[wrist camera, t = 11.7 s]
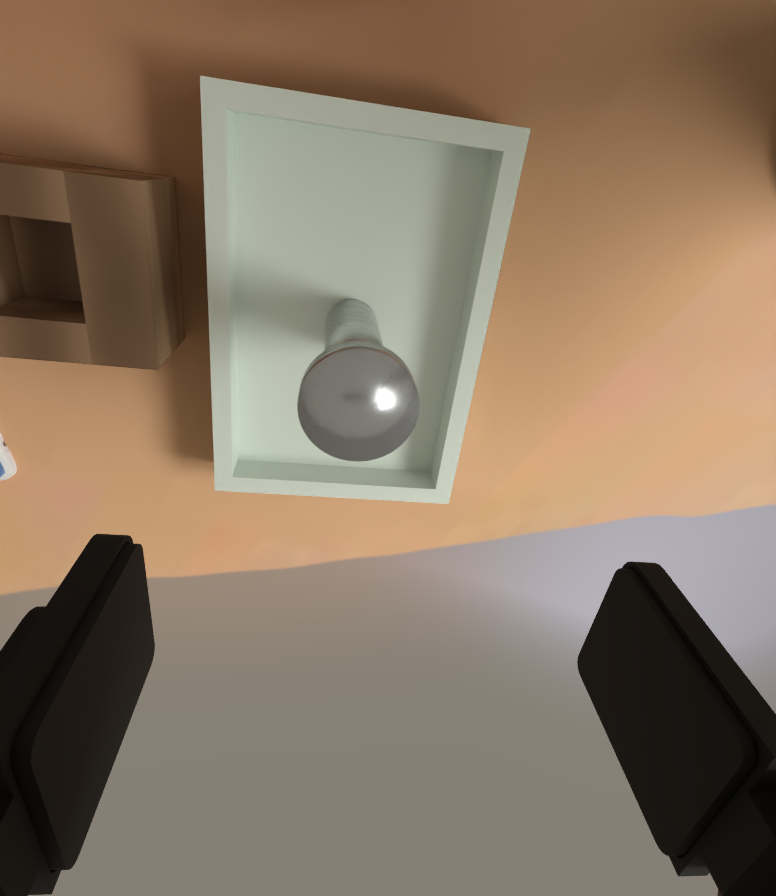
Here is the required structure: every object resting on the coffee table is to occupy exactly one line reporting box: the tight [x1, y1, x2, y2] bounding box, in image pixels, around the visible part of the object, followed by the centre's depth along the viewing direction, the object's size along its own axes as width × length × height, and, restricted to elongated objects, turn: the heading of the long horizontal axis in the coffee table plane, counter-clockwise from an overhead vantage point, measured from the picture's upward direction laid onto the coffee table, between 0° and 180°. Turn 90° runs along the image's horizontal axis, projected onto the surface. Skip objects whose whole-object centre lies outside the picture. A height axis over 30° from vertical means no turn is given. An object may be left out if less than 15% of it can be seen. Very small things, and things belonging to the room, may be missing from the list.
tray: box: [200, 76, 531, 504], centre depth 28 cm, size 20×14×3 cm
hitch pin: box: [297, 299, 420, 462], centre depth 24 cm, size 4×4×11 cm
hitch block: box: [0, 154, 184, 370], centre depth 24 cm, size 10×8×5 cm
